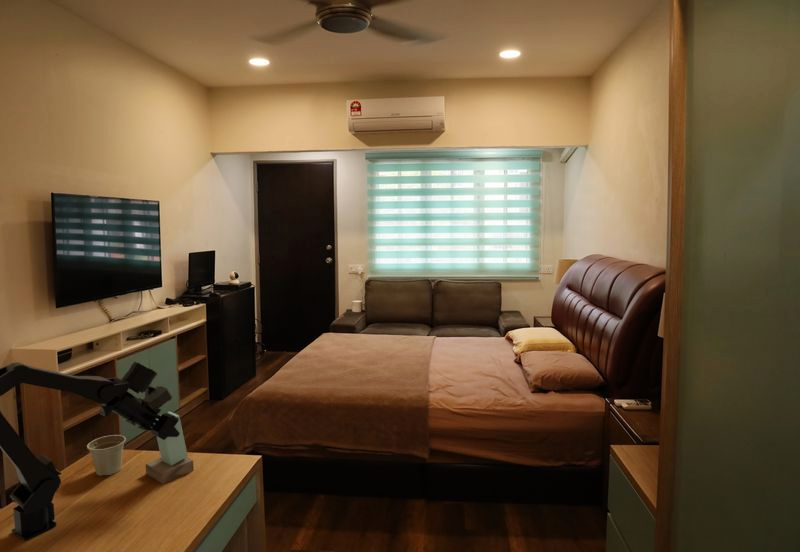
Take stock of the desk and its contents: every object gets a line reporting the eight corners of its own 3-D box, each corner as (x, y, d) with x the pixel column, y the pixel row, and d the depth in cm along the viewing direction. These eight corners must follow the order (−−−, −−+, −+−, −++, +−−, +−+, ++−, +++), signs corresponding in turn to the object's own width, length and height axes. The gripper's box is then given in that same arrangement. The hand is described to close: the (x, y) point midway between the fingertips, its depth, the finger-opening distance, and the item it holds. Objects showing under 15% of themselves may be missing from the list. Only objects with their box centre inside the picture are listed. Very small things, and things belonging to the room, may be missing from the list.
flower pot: (109, 481, 133) (107, 450, 132) (80, 477, 135) (78, 447, 134) (135, 464, 142) (133, 436, 141) (107, 461, 144) (105, 433, 143)
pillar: (171, 465, 135) (162, 423, 133) (161, 460, 138) (152, 419, 135) (187, 456, 139) (179, 415, 136) (178, 451, 142) (169, 411, 139)
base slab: (162, 483, 132) (162, 473, 131) (146, 473, 137) (145, 463, 137) (193, 470, 139) (193, 460, 139) (176, 461, 144) (176, 451, 144)
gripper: (169, 387, 126) (209, 414, 137) (134, 374, 137) (173, 400, 147) (140, 426, 121) (184, 451, 131) (106, 410, 132) (149, 434, 142)
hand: (173, 432), depth 138 cm, fingers closed on pillar, 5 cm apart
